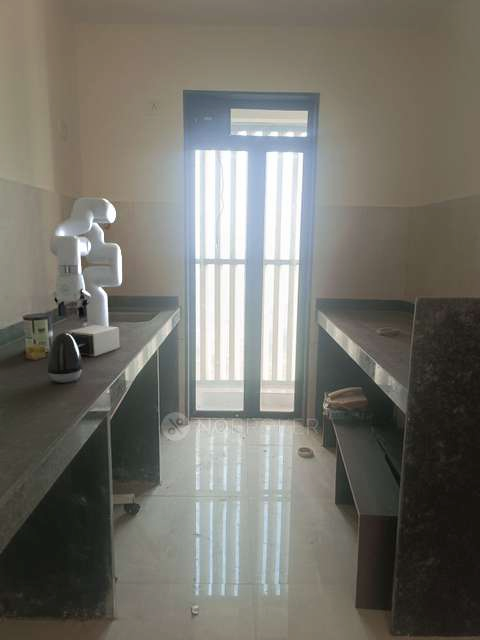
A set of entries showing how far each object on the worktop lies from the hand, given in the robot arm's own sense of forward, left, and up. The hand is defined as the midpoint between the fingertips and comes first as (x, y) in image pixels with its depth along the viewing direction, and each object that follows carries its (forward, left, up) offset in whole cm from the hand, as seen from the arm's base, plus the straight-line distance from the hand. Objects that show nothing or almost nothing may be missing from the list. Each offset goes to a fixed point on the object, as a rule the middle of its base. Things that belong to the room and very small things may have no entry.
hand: (72, 316), depth 154 cm
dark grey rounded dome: (+18, -22, -16) cm, 32 cm away
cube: (-12, -7, -15) cm, 21 cm away
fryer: (0, +11, -15) cm, 19 cm away
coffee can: (-20, +2, -16) cm, 26 cm away
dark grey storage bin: (0, +6, -14) cm, 16 cm away
